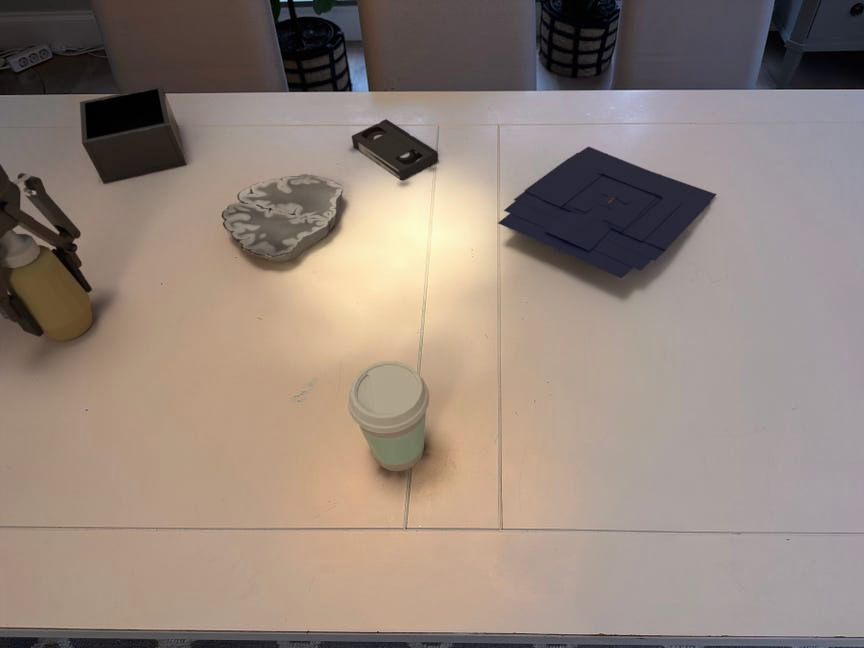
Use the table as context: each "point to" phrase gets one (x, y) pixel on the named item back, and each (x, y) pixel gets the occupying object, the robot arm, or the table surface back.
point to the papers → (606, 211)
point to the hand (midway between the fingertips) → (59, 309)
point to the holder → (131, 134)
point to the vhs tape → (394, 149)
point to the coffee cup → (391, 412)
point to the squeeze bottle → (44, 287)
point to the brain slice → (283, 215)
